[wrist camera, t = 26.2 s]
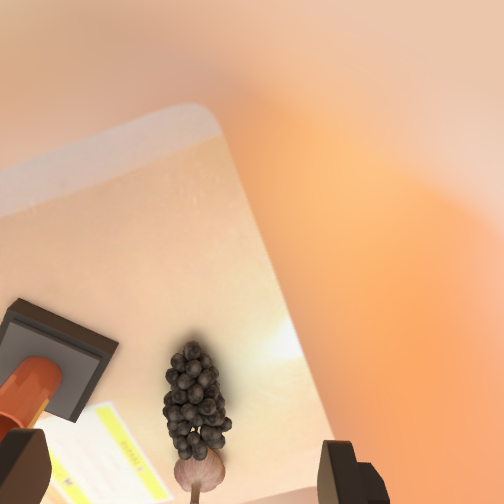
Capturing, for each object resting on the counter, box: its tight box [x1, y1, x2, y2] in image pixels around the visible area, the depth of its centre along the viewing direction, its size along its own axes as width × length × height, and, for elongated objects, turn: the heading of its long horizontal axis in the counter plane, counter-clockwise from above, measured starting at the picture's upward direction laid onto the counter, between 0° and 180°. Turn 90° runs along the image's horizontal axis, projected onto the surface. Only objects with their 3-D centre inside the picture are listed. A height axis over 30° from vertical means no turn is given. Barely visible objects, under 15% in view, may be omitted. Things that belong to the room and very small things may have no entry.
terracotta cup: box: [0, 356, 63, 443], centre depth 44 cm, size 5×5×8 cm
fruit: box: [163, 341, 232, 461], centre depth 49 cm, size 9×8×15 cm
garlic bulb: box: [174, 446, 225, 504], centre depth 54 cm, size 8×7×8 cm
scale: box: [0, 298, 119, 423], centre depth 50 cm, size 13×13×3 cm
